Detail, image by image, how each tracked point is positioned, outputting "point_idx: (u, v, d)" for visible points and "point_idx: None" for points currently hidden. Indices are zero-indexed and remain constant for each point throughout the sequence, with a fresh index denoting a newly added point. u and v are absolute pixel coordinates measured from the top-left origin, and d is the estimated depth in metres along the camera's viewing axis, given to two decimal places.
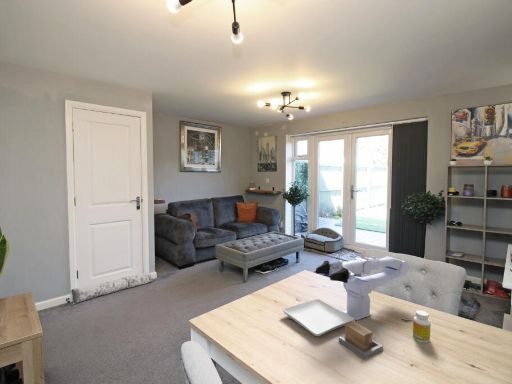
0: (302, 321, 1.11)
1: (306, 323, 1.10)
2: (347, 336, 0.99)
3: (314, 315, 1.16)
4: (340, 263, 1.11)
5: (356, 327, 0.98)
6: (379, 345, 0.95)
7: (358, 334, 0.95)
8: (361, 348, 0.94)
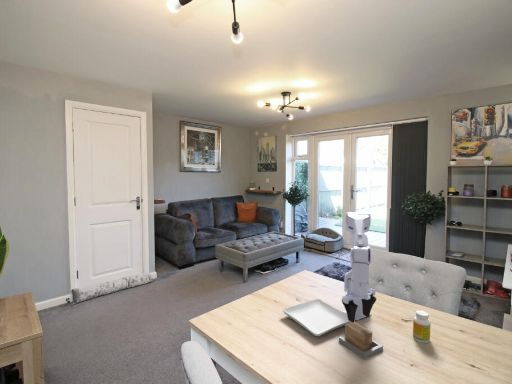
0: (302, 321, 1.11)
1: (306, 323, 1.10)
2: (347, 336, 0.99)
3: (314, 315, 1.16)
4: None
5: (356, 327, 0.98)
6: (379, 345, 0.95)
7: (358, 334, 0.95)
8: (361, 348, 0.94)
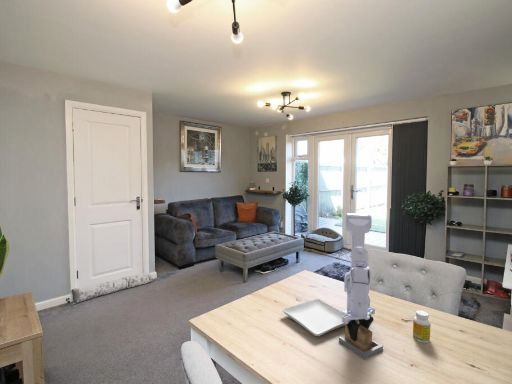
0: (302, 321, 1.11)
1: (306, 323, 1.10)
2: (347, 336, 0.99)
3: (314, 315, 1.16)
4: None
5: None
6: (379, 345, 0.95)
7: (358, 334, 0.95)
8: (361, 348, 0.94)
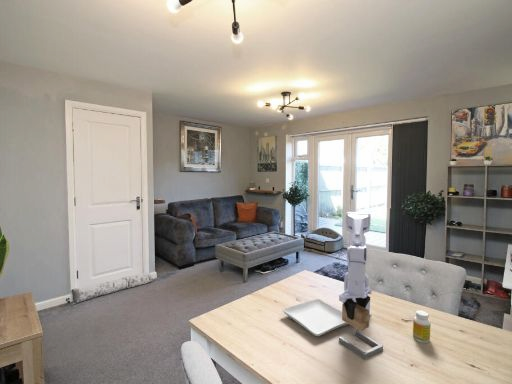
0: (302, 321, 1.11)
1: (306, 323, 1.10)
2: (344, 315, 1.00)
3: (314, 315, 1.16)
4: None
5: None
6: (379, 345, 0.95)
7: (355, 312, 0.95)
8: (358, 326, 0.94)
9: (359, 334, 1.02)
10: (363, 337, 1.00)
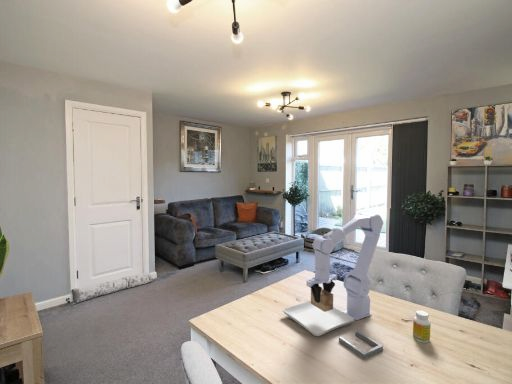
0: (302, 321, 1.11)
1: (306, 323, 1.10)
2: (312, 299, 1.12)
3: (314, 315, 1.16)
4: None
5: None
6: (379, 345, 0.95)
7: (321, 296, 1.08)
8: (323, 308, 1.07)
9: (359, 334, 1.02)
10: (363, 337, 1.00)
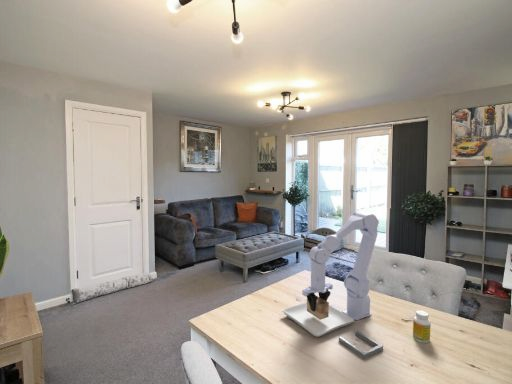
0: (302, 321, 1.11)
1: (306, 324, 1.10)
2: (308, 307, 1.15)
3: (314, 316, 1.16)
4: None
5: None
6: (379, 345, 0.95)
7: (316, 304, 1.10)
8: (318, 316, 1.09)
9: (359, 334, 1.02)
10: (363, 337, 1.00)
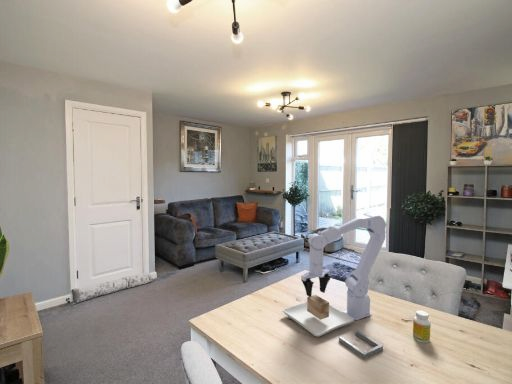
0: (302, 321, 1.11)
1: (306, 323, 1.10)
2: (308, 307, 1.14)
3: None
4: None
5: (316, 299, 1.13)
6: (379, 345, 0.95)
7: (317, 304, 1.10)
8: (319, 316, 1.09)
9: (359, 334, 1.02)
10: (363, 337, 1.00)
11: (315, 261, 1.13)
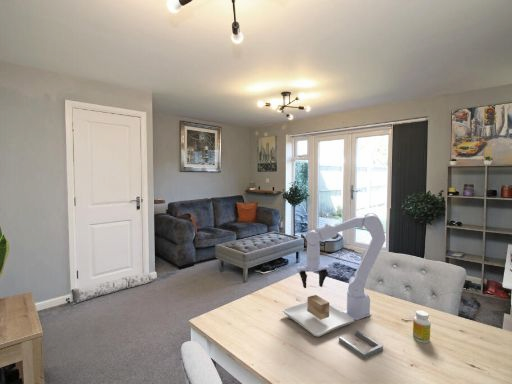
0: (302, 321, 1.11)
1: (306, 323, 1.10)
2: (309, 307, 1.14)
3: None
4: (317, 270, 1.21)
5: (316, 299, 1.13)
6: (379, 345, 0.95)
7: (317, 304, 1.10)
8: (319, 316, 1.09)
9: (359, 334, 1.02)
10: (363, 337, 1.00)
11: (309, 255, 1.21)
